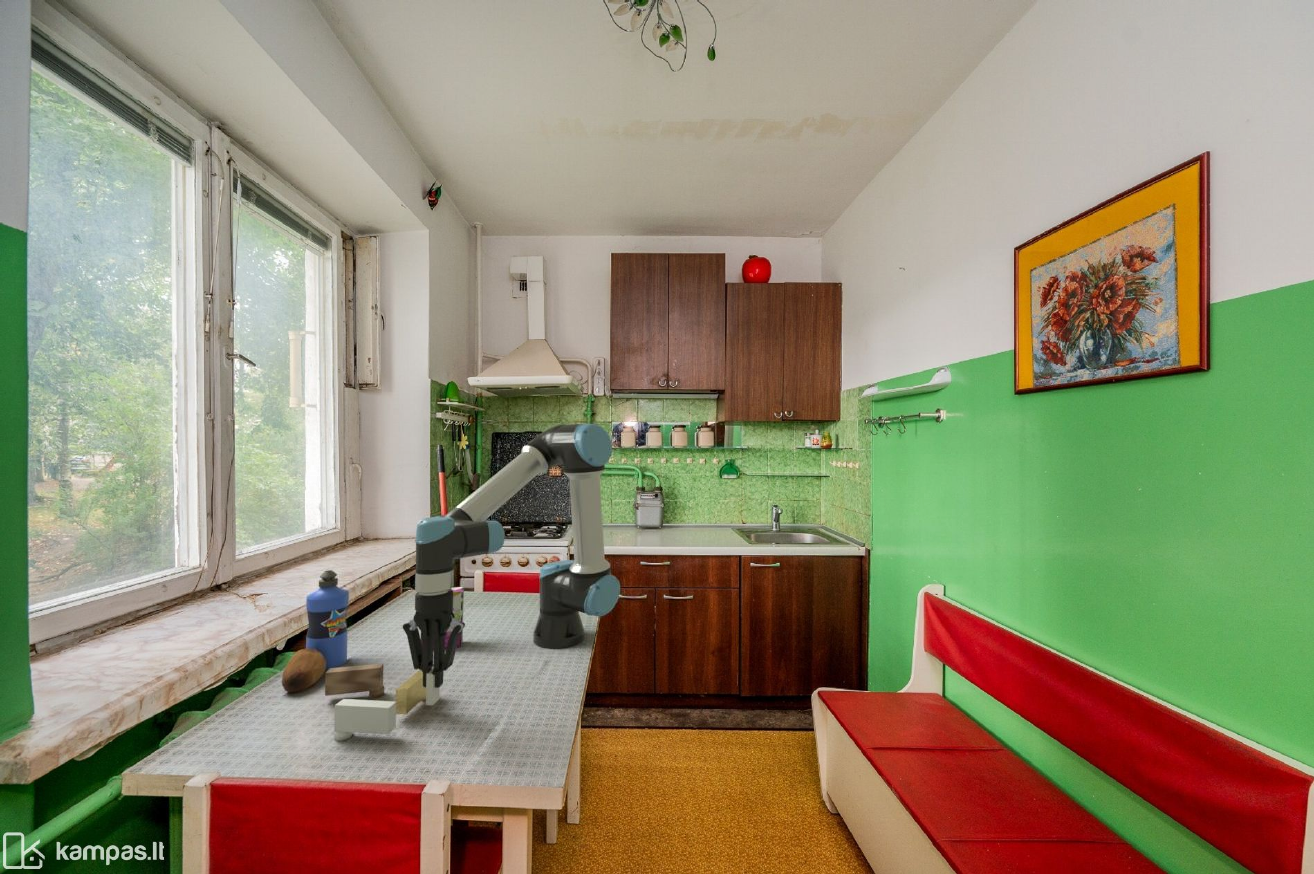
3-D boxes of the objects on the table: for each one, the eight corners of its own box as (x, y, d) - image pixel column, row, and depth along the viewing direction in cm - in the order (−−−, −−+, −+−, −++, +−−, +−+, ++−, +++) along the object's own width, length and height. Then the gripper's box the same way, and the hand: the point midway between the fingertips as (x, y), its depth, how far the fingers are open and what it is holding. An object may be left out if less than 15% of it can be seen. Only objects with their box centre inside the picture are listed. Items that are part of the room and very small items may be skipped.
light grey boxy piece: (330, 740, 96) (331, 705, 96) (341, 731, 99) (342, 698, 99) (387, 743, 95) (387, 708, 96) (396, 734, 98) (397, 700, 98)
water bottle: (355, 663, 133) (357, 569, 134) (319, 677, 125) (321, 577, 125) (333, 657, 137) (335, 565, 138) (296, 670, 129) (298, 573, 129)
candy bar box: (419, 652, 141) (420, 593, 141) (422, 645, 146) (423, 588, 146) (462, 647, 144) (463, 590, 145) (463, 641, 149) (464, 585, 149)
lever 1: (385, 691, 116) (386, 662, 116) (382, 697, 113) (382, 668, 113) (329, 697, 113) (330, 667, 113) (324, 703, 110) (325, 673, 110)
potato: (304, 710, 115) (268, 698, 112) (315, 673, 127) (282, 662, 124) (325, 682, 116) (290, 670, 112) (334, 648, 128) (303, 636, 124)
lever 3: (424, 694, 115) (424, 665, 115) (436, 694, 114) (437, 665, 114) (393, 721, 103) (394, 689, 103) (407, 722, 103) (408, 689, 103)
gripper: (471, 586, 110) (470, 694, 110) (415, 584, 111) (413, 691, 111) (455, 596, 103) (453, 712, 102) (395, 594, 104) (392, 709, 103)
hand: (432, 701), depth 107 cm, fingers closed
